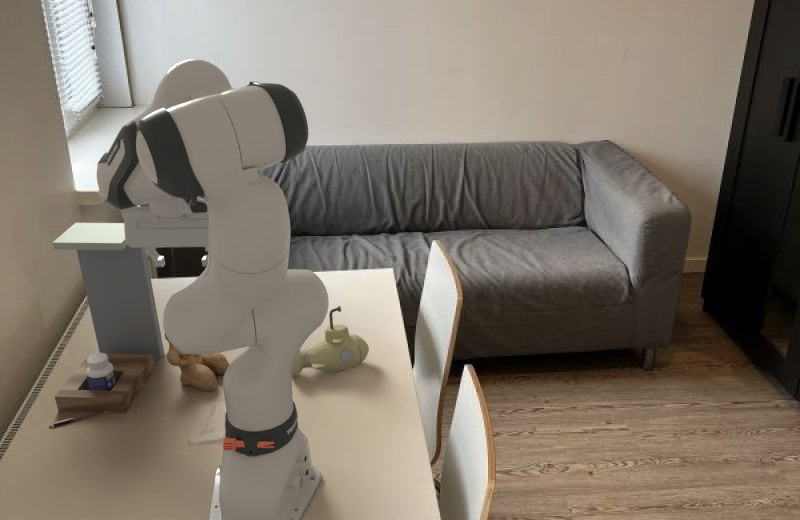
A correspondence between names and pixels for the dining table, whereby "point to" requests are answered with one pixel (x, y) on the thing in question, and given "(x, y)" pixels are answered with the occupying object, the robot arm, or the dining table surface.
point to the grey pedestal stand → (116, 288)
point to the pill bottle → (100, 372)
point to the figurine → (198, 367)
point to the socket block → (129, 383)
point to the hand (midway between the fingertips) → (183, 266)
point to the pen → (76, 419)
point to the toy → (333, 350)
